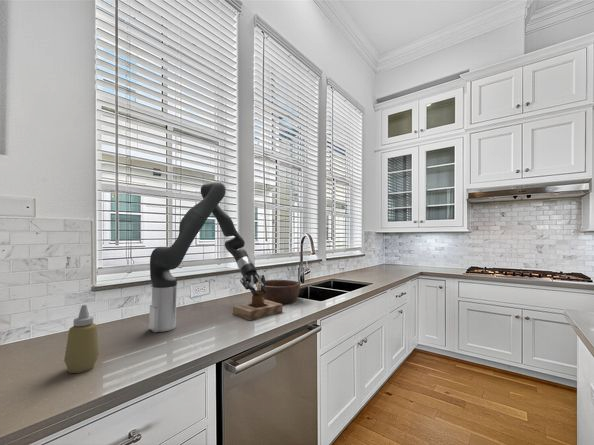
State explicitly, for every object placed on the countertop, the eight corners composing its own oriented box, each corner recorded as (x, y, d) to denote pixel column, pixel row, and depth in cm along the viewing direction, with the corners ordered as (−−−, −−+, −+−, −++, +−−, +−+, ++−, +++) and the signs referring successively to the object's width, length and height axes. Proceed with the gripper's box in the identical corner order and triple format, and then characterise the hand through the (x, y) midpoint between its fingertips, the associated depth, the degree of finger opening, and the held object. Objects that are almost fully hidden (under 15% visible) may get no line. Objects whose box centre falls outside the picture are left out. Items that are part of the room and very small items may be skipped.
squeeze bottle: (104, 362, 87) (107, 302, 87) (86, 375, 79) (88, 309, 79) (77, 362, 86) (79, 302, 87) (55, 375, 78) (58, 309, 79)
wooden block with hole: (249, 320, 130) (249, 311, 130) (232, 314, 140) (232, 305, 140) (282, 312, 144) (282, 304, 144) (264, 307, 154) (265, 299, 154)
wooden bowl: (307, 299, 174) (307, 282, 174) (284, 308, 153) (284, 288, 153) (274, 294, 187) (274, 278, 188) (248, 301, 166) (248, 283, 167)
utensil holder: (252, 307, 138) (253, 282, 139) (251, 304, 144) (251, 280, 145) (264, 307, 140) (265, 282, 140) (262, 303, 146) (263, 280, 146)
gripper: (237, 263, 143) (251, 291, 134) (260, 261, 153) (275, 287, 144) (231, 273, 147) (245, 301, 138) (254, 270, 157) (268, 296, 148)
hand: (260, 294), depth 141 cm, fingers closed on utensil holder, 5 cm apart
